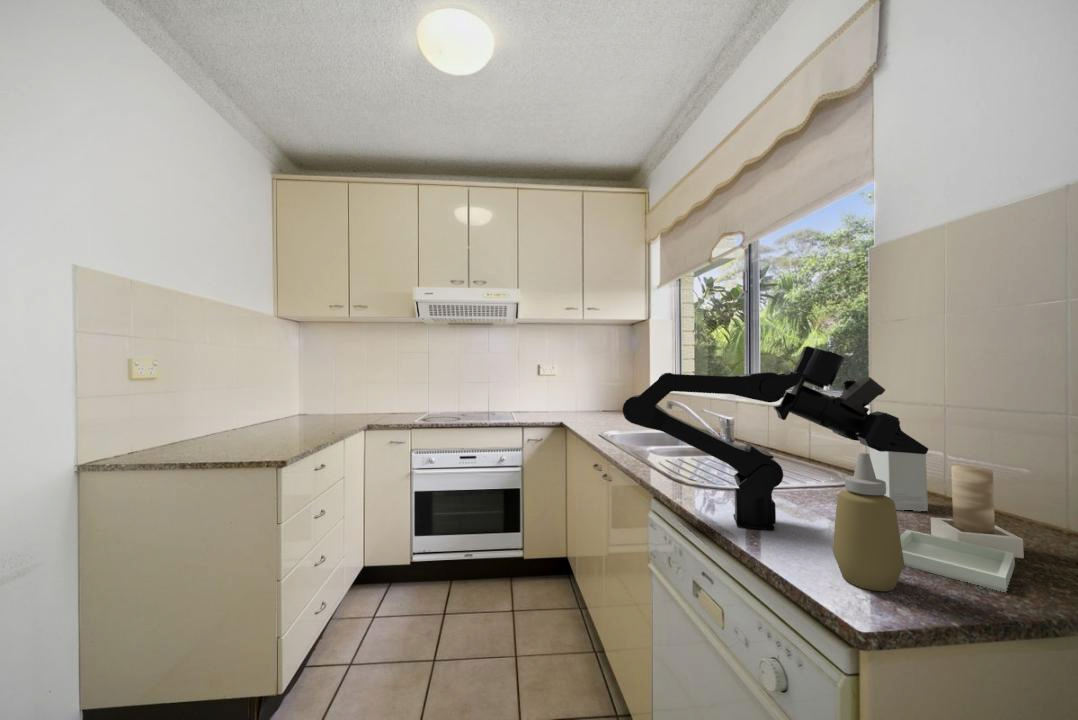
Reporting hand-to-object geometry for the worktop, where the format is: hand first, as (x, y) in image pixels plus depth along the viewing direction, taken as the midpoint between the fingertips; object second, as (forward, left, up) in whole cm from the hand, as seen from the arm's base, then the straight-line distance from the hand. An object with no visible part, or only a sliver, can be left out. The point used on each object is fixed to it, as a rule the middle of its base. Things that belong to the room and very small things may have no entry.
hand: (912, 446), depth 76 cm
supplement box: (+6, +22, -16) cm, 28 cm away
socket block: (+8, 0, -16) cm, 18 cm away
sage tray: (0, -10, -16) cm, 19 cm away
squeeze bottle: (-14, -21, -16) cm, 30 cm away
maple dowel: (+8, 0, -16) cm, 18 cm away
